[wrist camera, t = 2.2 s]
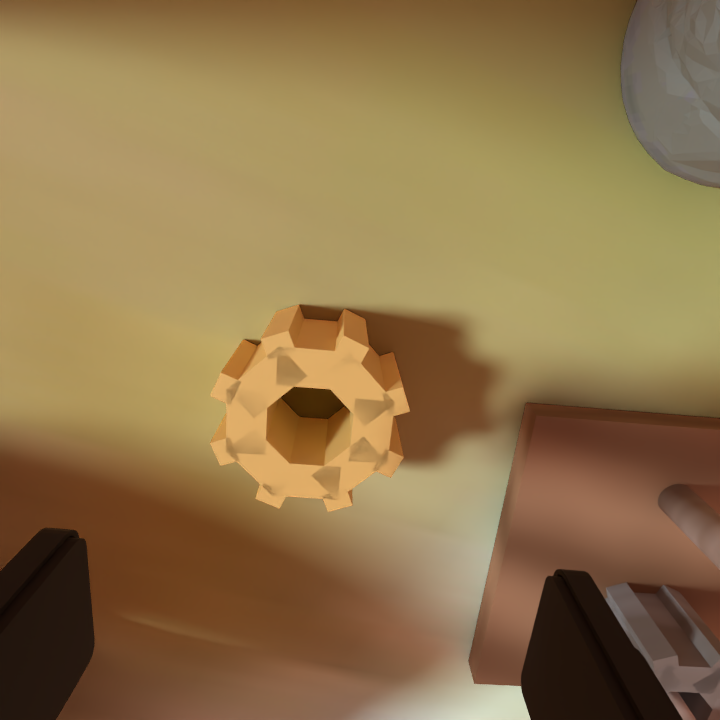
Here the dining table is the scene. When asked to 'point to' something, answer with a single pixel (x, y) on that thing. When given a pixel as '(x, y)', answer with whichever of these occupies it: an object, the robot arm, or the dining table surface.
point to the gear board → (613, 541)
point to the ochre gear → (310, 435)
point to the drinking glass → (675, 85)
